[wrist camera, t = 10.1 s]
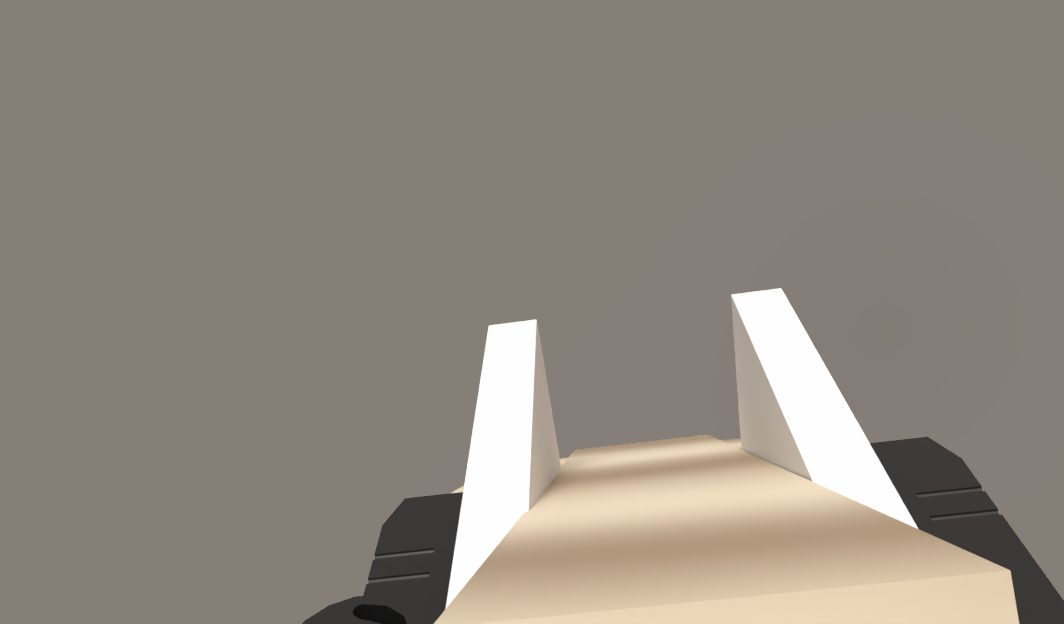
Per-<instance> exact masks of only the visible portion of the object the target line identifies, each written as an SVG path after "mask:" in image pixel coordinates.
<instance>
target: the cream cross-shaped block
mask: <svg viewBox="0 0 1064 624" xmlns="http://www.w3.org/2000/svg"><path fill="white" fill-rule="evenodd" d="M560 464H561V471H560V472H559V473H558V474H557V476H556V477H555V478H554V480H553V481H552V482H551V483H550V485H549V486H548V487H547V488H546V490H545V491H544V492H543V494H542V495H541V496H540V497H539V499H538V500H537V501H536V503H535V504H534V505H533V506H532V508H531V509H530V510H529V512H524V513H523V515H522V516H521V517H520V518H519V520H518V521H517V522H516V523H515V524H514V526H513V527H512V528H511V529H510V531H509V532H508V533H507V534H506V536H505V537H504V538H503V539H502V540H501V542H500V543H499V544H498V545H497V547H496V548H495V549H494V550H493V552H492V553H491V554H490V555H489V556H488V558H487V559H486V560H485V561H484V563H483V564H482V565H481V566H480V568H479V569H478V570H477V571H476V572H475V574H474V575H473V576H472V577H471V579H470V580H469V581H468V582H467V584H466V585H465V586H464V587H463V588H462V590H461V591H460V592H459V593H458V595H457V596H456V597H455V598H454V600H453V601H452V602H451V603H450V604H449V606H448V607H447V608H446V609H445V611H444V612H443V613H442V614H441V616H440V617H439V618H438V619H437V620H436V622H435V623H434V624H1019V619H1018V613H1017V607H1016V601H1015V595H1014V589H1013V583H1012V577H1011V571H1010V570H1008V569H1006V568H1004V567H1002V566H999V565H997V564H995V563H993V562H990V561H988V560H986V559H984V558H982V557H979V556H977V555H975V554H973V553H970V552H968V551H966V550H964V549H961V548H959V547H957V546H955V545H953V544H950V543H948V542H946V541H944V540H941V539H939V538H937V537H935V536H932V535H930V534H928V533H926V532H924V531H921V530H919V529H917V528H915V527H912V526H910V525H908V524H906V523H904V522H901V521H899V520H897V519H895V518H892V517H890V516H888V515H886V514H883V513H881V512H879V511H877V510H875V509H872V508H870V507H868V506H866V505H863V504H861V503H859V502H857V501H854V500H852V499H850V498H848V497H846V496H843V495H841V494H839V493H837V492H834V491H832V490H830V489H828V488H825V487H823V486H821V485H819V484H817V483H814V482H812V481H810V480H808V479H805V478H803V477H801V476H799V475H796V474H794V473H792V472H790V471H788V470H785V469H783V468H781V467H779V466H776V465H774V464H772V463H770V462H767V461H765V460H763V459H761V458H759V457H756V456H754V455H752V454H750V453H747V452H745V451H743V448H742V445H741V438H738V439H729V440H718V439H716V438H714V437H712V436H709V435H703V436H693V437H685V438H676V439H667V440H659V441H650V442H641V443H632V444H624V445H615V446H606V447H597V448H589V449H581V450H575V451H574V452H573V453H572V454H571V456H570V457H569V458H562V459H560ZM463 491H464V486H462V487H461V488H459V489H457V490H456V491H454V492H452V493H459V492H463Z"/></svg>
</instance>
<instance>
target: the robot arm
mask: <svg viewBox="0 0 1064 624" xmlns="http://www.w3.org/2000/svg"><path fill="white" fill-rule="evenodd" d="M731 300H732V315H733V330H734V344H735V360H736V373H737V388H738V404H739V419H740V434H741V445H742V448H743V451H745V452H747V453H750V454H752V455H754V456H756V457H759V458H761V459H763V460H765V461H767V462H770V463H772V464H774V465H776V466H779V467H781V468H783V469H785V470H788V471H790V472H792V473H794V474H796V475H799V476H801V477H803V478H805V479H808V480H810V481H812V482H814V483H817V484H819V485H821V486H823V487H825V488H828V489H830V490H832V491H834V492H837V493H839V494H841V495H843V496H846V497H848V498H850V499H852V500H854V501H857V502H859V503H861V504H863V505H866V506H868V507H870V508H872V509H875V510H877V511H879V512H881V513H883V514H886V515H888V516H890V517H892V518H895V519H897V520H899V521H901V522H904V523H906V524H908V525H910V526H912V527H915V528H917V529H919V530H921V531H924V532H926V533H928V534H930V535H932V536H935V537H937V538H939V539H941V540H944V541H946V542H948V543H950V544H953V545H955V546H957V547H959V548H961V549H964V550H966V551H968V552H970V553H973V554H975V555H977V556H979V557H982V558H984V559H986V560H988V561H990V562H993V563H995V564H997V565H999V566H1002V567H1004V568H1006V569H1008V570H1010V571H1011V577H1012V583H1013V589H1014V595H1015V601H1016V607H1017V613H1018V619H1019V624H1064V600H1063V599H1062V598H1061V596H1060V595H1059V594H1058V592H1057V591H1056V589H1055V588H1054V587H1053V585H1052V584H1051V582H1050V581H1049V580H1048V578H1047V577H1046V575H1045V574H1044V573H1043V571H1042V570H1041V568H1040V567H1039V566H1038V564H1037V563H1036V562H1035V560H1034V559H1033V557H1032V556H1031V555H1030V553H1029V552H1028V551H1027V549H1026V548H1025V546H1024V545H1023V544H1022V542H1021V541H1020V539H1019V538H1018V536H1017V535H1016V534H1015V532H1014V531H1013V529H1012V528H1011V527H1010V525H1009V524H1008V522H1007V521H1006V520H1005V518H1004V517H1003V515H999V514H998V509H997V507H996V506H995V504H994V503H993V502H992V500H991V499H990V497H989V496H988V495H987V494H986V492H983V491H982V488H981V485H980V484H979V482H978V481H977V479H976V478H975V477H974V475H973V474H972V472H971V471H970V470H969V468H968V467H967V465H966V464H965V463H964V461H963V460H962V458H960V457H958V456H957V455H955V454H954V453H952V452H950V451H949V450H947V449H946V448H944V447H942V446H941V445H939V444H938V443H936V442H935V441H933V440H932V439H930V438H928V437H923V438H914V439H905V440H896V441H887V442H878V443H869V441H868V440H867V438H866V436H865V434H864V433H863V431H862V429H861V427H860V426H859V424H858V422H857V420H856V419H855V417H854V415H853V413H852V412H851V410H850V408H849V407H848V405H847V403H846V401H845V400H844V398H843V396H842V395H841V392H840V391H839V389H838V387H837V385H836V384H835V382H834V380H833V378H832V377H831V375H830V373H829V371H828V370H827V368H826V366H825V364H824V363H823V361H822V359H821V357H820V356H819V354H818V352H817V351H816V349H815V347H814V345H813V343H812V342H811V340H810V338H809V336H808V334H807V333H806V331H805V329H804V328H803V326H802V324H801V322H800V321H799V319H798V317H797V315H796V313H795V312H794V310H793V308H792V307H791V305H790V303H789V301H788V299H787V298H786V296H785V294H784V292H783V291H782V289H781V288H779V289H772V290H764V291H756V292H748V293H740V294H732V295H731ZM560 471H561V464H560V458H559V452H558V446H557V440H556V434H555V428H554V422H553V416H552V410H551V404H550V398H549V392H548V386H547V379H546V373H545V367H544V361H543V355H542V349H541V344H540V337H539V331H538V325H537V320H530V321H521V322H513V323H506V324H497V325H490V326H489V328H488V334H487V341H486V348H485V354H484V361H483V367H482V374H481V380H480V387H479V394H478V399H477V406H476V413H475V419H474V426H473V432H472V439H471V445H470V452H469V458H468V465H467V472H466V478H465V484H464V491H463V492H459V493H451V494H442V495H434V496H424V497H415V498H406V499H404V501H403V502H402V503H401V504H400V505H399V506H398V508H397V509H396V510H395V511H394V512H393V514H392V515H391V516H390V517H389V518H388V519H387V521H386V522H385V523H384V524H383V526H382V530H381V533H380V537H379V541H378V544H377V548H376V551H375V560H373V562H372V566H371V570H370V573H369V577H368V580H369V584H367V585H366V588H365V592H364V595H363V596H361V597H360V596H359V597H353V598H350V599H347V600H344V601H341V602H339V603H335V604H332V605H329V606H327V607H326V608H324V609H323V610H321V611H320V612H318V613H316V614H315V615H313V616H312V617H310V618H309V619H307V620H305V622H303V624H434V623H435V622H436V620H437V619H438V618H439V617H440V616H441V614H442V613H443V612H444V611H445V609H446V608H447V607H448V606H449V604H450V603H451V602H452V601H453V600H454V598H455V597H456V596H457V595H458V593H459V592H460V591H461V590H462V588H463V587H464V586H465V585H466V584H467V582H468V581H469V580H470V579H471V577H472V576H473V575H474V574H475V572H476V571H477V570H478V569H479V568H480V566H481V565H482V564H483V563H484V561H485V560H486V559H487V558H488V556H489V555H490V554H491V553H492V552H493V550H494V549H495V548H496V547H497V545H498V544H499V543H500V542H501V540H502V539H503V538H504V537H505V536H506V534H507V533H508V532H509V531H510V529H511V528H512V527H513V526H514V524H515V523H516V522H517V521H518V520H519V518H520V517H521V516H522V515H523V513H524V512H529V510H530V509H531V508H532V506H533V505H534V504H535V503H536V501H537V500H538V499H539V497H540V496H541V495H542V494H543V492H544V491H545V490H546V488H547V487H548V486H549V485H550V483H551V482H552V481H553V480H554V478H555V477H556V476H557V474H558V473H559V472H560Z"/></svg>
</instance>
